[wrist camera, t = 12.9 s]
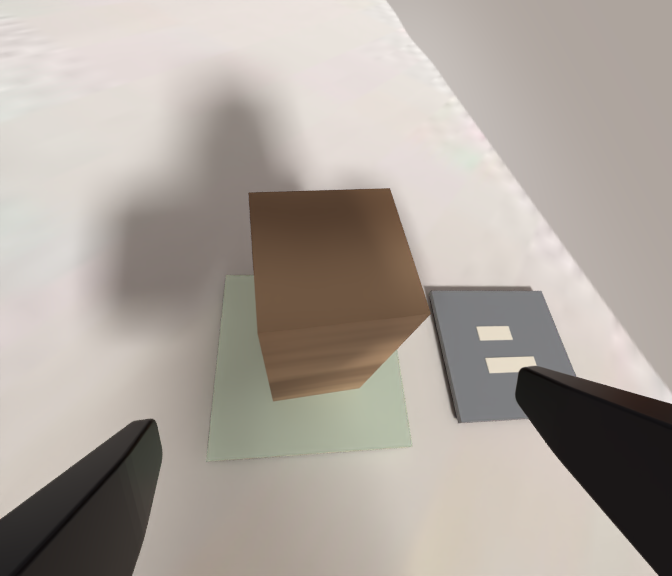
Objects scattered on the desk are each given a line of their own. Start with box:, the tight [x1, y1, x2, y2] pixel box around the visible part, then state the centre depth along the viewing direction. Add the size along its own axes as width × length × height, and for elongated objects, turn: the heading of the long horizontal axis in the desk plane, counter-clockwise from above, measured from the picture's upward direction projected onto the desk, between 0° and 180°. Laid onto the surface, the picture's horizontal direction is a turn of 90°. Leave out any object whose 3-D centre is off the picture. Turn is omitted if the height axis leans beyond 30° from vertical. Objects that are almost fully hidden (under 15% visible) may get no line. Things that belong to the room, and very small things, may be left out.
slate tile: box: [429, 291, 576, 423], centre depth 20 cm, size 8×8×1 cm
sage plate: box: [206, 275, 412, 462], centre depth 18 cm, size 10×10×1 cm
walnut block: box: [249, 188, 431, 401], centre depth 14 cm, size 5×5×10 cm
